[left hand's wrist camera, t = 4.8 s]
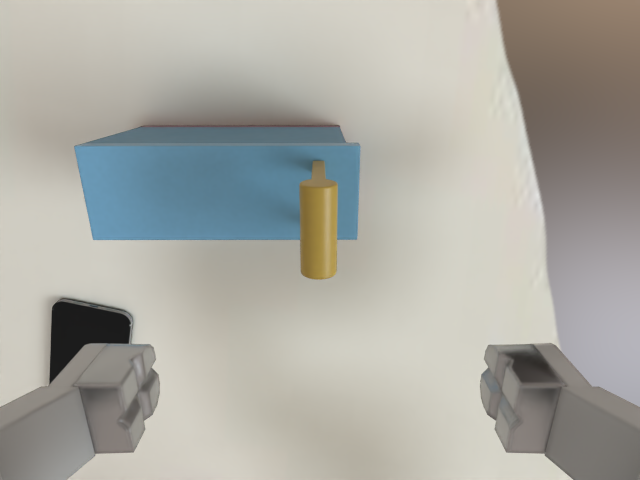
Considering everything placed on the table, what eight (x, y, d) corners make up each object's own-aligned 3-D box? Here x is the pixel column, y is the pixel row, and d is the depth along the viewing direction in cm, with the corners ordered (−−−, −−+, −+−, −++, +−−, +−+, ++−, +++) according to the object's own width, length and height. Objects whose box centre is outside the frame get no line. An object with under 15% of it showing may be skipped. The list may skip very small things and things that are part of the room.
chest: (339, 125, 34) (346, 142, 26) (338, 195, 36) (344, 233, 28) (143, 125, 34) (84, 142, 26) (153, 196, 36) (102, 233, 28)
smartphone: (132, 316, 40) (118, 437, 45) (135, 312, 40) (121, 432, 46) (51, 299, 39) (47, 424, 44) (55, 295, 40) (51, 419, 45)
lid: (358, 142, 26) (375, 171, 18) (355, 233, 28) (369, 293, 20) (84, 142, 26) (-16, 171, 18) (102, 233, 28) (19, 294, 20)
